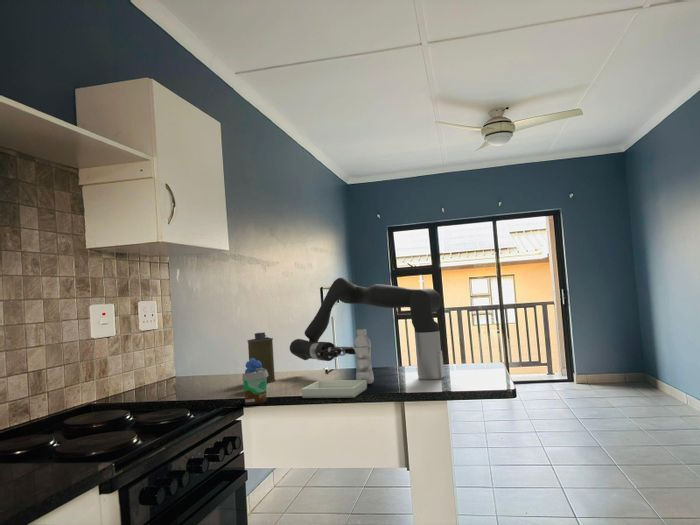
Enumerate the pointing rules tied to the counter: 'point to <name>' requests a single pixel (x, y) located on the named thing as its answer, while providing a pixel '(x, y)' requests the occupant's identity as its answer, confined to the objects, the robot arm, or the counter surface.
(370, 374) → the plastic bottle
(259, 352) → the canister
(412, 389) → the counter surface
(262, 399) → the food container
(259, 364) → the grapes
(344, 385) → the tray
